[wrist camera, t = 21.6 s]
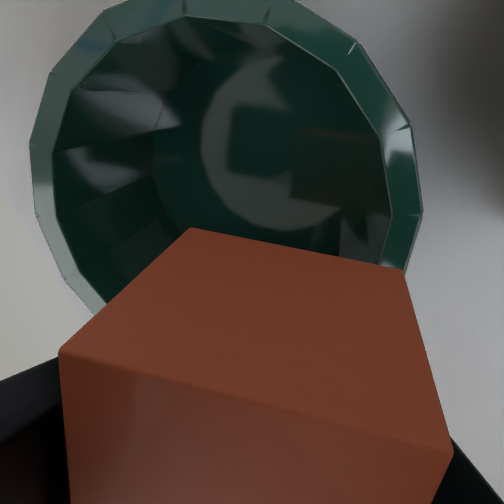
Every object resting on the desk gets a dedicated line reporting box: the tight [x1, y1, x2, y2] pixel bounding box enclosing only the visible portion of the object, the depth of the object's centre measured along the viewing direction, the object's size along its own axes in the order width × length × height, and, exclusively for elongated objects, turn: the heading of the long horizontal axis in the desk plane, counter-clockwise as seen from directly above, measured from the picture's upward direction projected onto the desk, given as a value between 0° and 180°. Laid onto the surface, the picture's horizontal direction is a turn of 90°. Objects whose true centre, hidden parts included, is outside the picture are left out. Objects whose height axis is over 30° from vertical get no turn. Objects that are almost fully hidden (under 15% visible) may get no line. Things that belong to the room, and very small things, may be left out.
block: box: [58, 227, 454, 504], centre depth 7 cm, size 4×4×4 cm
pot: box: [29, 0, 423, 315], centre depth 15 cm, size 12×12×8 cm
